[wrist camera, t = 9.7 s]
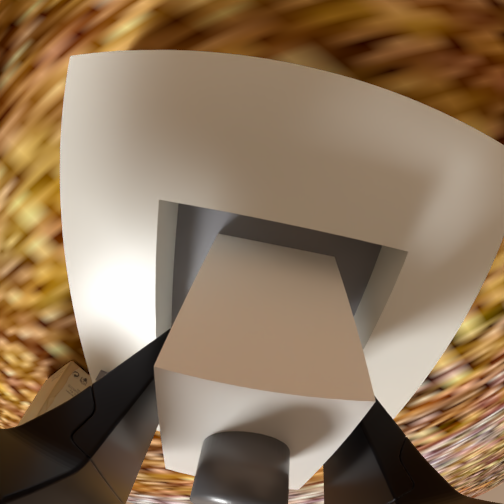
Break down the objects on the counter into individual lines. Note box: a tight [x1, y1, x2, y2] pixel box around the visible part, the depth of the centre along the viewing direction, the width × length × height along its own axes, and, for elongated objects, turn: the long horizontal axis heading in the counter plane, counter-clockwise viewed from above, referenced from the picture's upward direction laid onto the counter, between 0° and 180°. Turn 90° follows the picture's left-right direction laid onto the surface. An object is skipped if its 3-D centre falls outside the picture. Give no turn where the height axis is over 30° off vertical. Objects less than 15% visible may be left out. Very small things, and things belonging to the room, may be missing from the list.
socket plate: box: [60, 50, 504, 431], centre depth 11 cm, size 14×16×4 cm
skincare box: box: [18, 361, 93, 426], centre depth 12 cm, size 6×4×12 cm
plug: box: [154, 234, 376, 504], centre depth 8 cm, size 4×5×8 cm
